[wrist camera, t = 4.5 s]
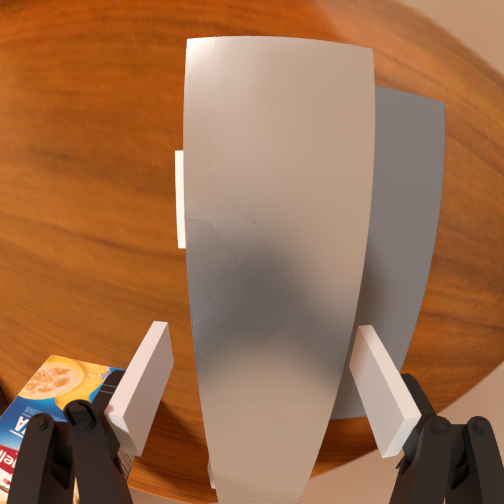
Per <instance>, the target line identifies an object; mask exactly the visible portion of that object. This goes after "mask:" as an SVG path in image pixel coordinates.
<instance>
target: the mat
mask: <svg viewBox="0 0 504 504" xmlns="http://www.w3.org/2000/svg"><path fill="white" fill-rule="evenodd" d="M444 149H445V107H444V102H441V101H437V100H434V99H430V98H427V97H423V96H419V95H416V94H412V93H407V92H403V91H399V90H394V89H390V88H385V87H380V86H375V146H374V169H373V185H372V198H371V209H370V219H369V229H368V237H367V245H366V253H365V260H364V267H363V274H362V280H361V286H360V292H359V298H358V303H357V309H356V314H355V319H354V324H353V329H352V334H351V338H350V343H349V347H348V352H347V356H346V360H345V364H344V368H343V372H342V376H341V380H340V384H339V388H338V391H337V395H336V399H335V402H334V406H333V409H332V412H331V416H330V419H329V420H334V419H345V418H354V417H362V416H367V414H366V411H365V408H364V406H363V403H362V400H361V397H360V395H359V392H358V389H357V386H356V384H355V381H354V378H353V376H352V373H351V370H350V368H349V363H350V359H351V355H352V351H353V347H354V343H355V338H356V334H357V329H358V326H363V325H372V327H373V329H374V330H375V332H376V334H377V335H378V337H379V339H380V340H381V342H382V344H383V346H384V347H385V349H386V351H387V353H388V354H389V356H390V358H391V360H392V361H393V363H394V365H395V367H396V369H397V370H398V372H399V373H400V370H401V368H402V365H403V362H404V359H405V356H406V353H407V351H408V348H409V345H410V341H411V338H412V335H413V332H414V329H415V325H416V322H417V318H418V315H419V311H420V308H421V304H422V300H423V296H424V292H425V288H426V284H427V280H428V275H429V270H430V266H431V261H432V256H433V250H434V245H435V239H436V233H437V226H438V219H439V211H440V203H441V194H442V183H443V169H444Z"/></svg>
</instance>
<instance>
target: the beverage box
mask: <svg viewBox="0 0 504 504" xmlns="http://www.w3.org/2000/svg"><path fill="white" fill-rule="evenodd" d="M115 370H120V371H126V370H125V369H119V368H113V367H108V366H102V365H97V364H92V363H87V362H83V361H78V360H74V359H69V358H65V357H61V356H57V355H53V354H51V356H50V357H49V358H48V359H47V360H46V361H45V363H44V364H43V365H42V366H41V367H40V369H39V370H38V371H37V372H36V373H35V375H34V376H33V377H32V378H31V379H30V381H29V382H28V383H27V384H26V386H25V387H24V388H23V389H22V391H21V392H20V393H19V394H18V396H17V397H16V398H15V399H14V401H13V402H12V403H11V405H10V406H9V407H8V408H7V410H6V411H5V412H4V414H3V415H2V416H1V418H0V504H6V502H7V497H8V492H9V488H10V483H11V479H12V475H13V471H14V467H15V463H16V459H17V456H18V452H19V449H20V445H21V442H22V439H23V436H24V433H25V430H26V427H27V424H28V421H29V420H30V418H31V417H32V416H33V415H35V414H37V413H47V414H50V415H51V416H52V417H53V419H54V421H64V422H67V420H66V418H65V416H64V415H63V409H64V407H65V406H66V404H68V403H69V402H71V401H73V400H76V399H84V400H87V401H89V402H90V403H92V402H93V400H94V398H95V396H96V395H97V393H98V391H99V390H100V388H101V386H102V385H103V383H104V381H105V379H106V378H107V376H108V375H109V374H111V373H112V372H113V371H115ZM117 454H118V455H119V457H120V461H121V465H122V468H123V472H124V475H125V479H126V482H127V479H128V476H129V473H130V470H131V467H132V464H133V461H134V458H135V456H134V455H130V454H126V453H124V452H123V450H122V448H121V446H120V448H119V451H118V453H117ZM73 504H81V503H80V498H79V493H78V487H77V481H76V478H75V486H74V497H73Z"/></svg>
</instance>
